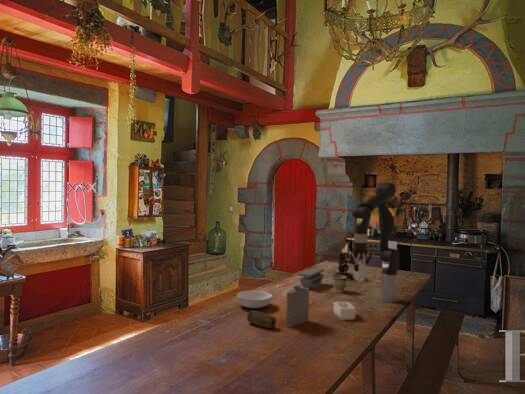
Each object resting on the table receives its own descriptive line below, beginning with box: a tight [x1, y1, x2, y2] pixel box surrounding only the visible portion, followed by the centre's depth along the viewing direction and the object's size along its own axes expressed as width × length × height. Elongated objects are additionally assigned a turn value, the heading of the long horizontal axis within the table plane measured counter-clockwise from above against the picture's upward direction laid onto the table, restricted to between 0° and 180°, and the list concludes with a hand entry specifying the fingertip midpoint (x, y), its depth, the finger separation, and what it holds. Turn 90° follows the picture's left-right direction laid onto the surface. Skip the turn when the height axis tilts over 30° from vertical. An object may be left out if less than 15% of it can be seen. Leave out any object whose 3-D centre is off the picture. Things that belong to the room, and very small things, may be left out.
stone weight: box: [246, 310, 277, 329], centre depth 202 cm, size 15×7×7 cm, turn 60°
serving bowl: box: [236, 290, 273, 309], centre depth 234 cm, size 21×21×7 cm
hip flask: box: [285, 284, 310, 328], centre depth 207 cm, size 16×4×20 cm, turn 134°
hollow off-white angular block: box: [332, 301, 357, 321], centre depth 221 cm, size 8×12×6 cm
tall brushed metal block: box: [353, 261, 366, 283], centre depth 229 cm, size 4×7×10 cm, turn 8°
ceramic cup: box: [331, 274, 352, 293], centre depth 272 cm, size 13×10×10 cm
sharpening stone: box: [298, 267, 325, 290], centre depth 284 cm, size 25×8×11 cm, turn 149°
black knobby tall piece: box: [333, 251, 354, 279], centre depth 312 cm, size 15×15×20 cm
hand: (359, 271), depth 229 cm, fingers closed on tall brushed metal block, 3 cm apart
